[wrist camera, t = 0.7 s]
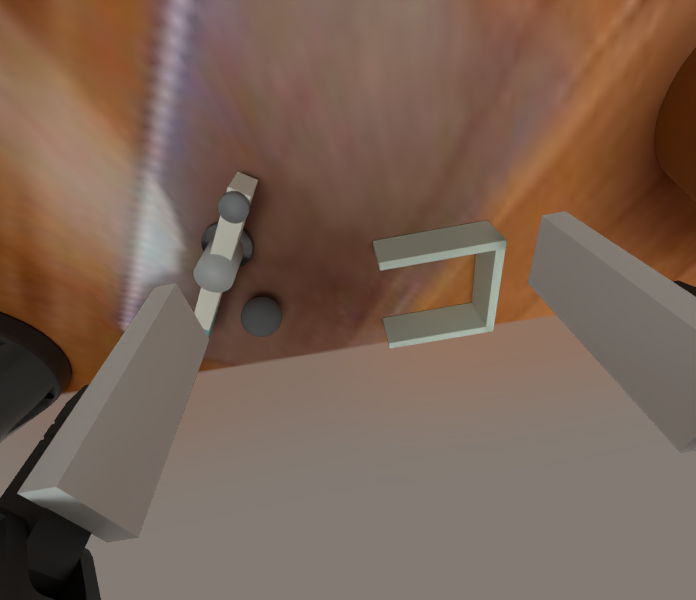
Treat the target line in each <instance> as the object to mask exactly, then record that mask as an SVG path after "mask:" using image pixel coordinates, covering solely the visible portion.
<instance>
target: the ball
mask: <svg viewBox="0 0 696 600" xmlns="http://www.w3.org/2000/svg"><path fill="white" fill-rule="evenodd" d="M281 321H282V312H281V309H280V307H279V306H278V304H277V303H276V302H275V301H273V300H272V299H270V298H267V297H257V298H254V299H252V300H250V301H248V302H247V303H246V304H245V306H244V307H243V309H242V312H241V322H242V325H243V327H244V328H245V330H246V331H247V332H249V333H250V334H252V335H254V336H258V337H264V336H268V335H271V334H272V333H274V332H275V331H276V330H277V329H278V328H279V326H280V324H281Z"/></svg>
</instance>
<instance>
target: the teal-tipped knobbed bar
mask: <svg viewBox="0 0 696 600" xmlns="http://www.w3.org/2000/svg"><path fill="white" fill-rule="evenodd" d="M257 182H258V180H257V179H254V178H252V177H250V176H247V175H245V174H243V173H240V172H237V174H236V175H235V177H234V178H233V180H232V181H231V183H230V185H229V186H228V189H227V192H226V193H225V194H224V195H223V196H222V198H221V200H220V201H219V203H218V211H219V214H220V219H219V222H218V226H217V230H216V234H215V236H213V237H212V238H211V240H210V242H209V243H208V245H207V247H206V249H205V251H204V252H203V254H202V256H201V258H200V260H199V262H198V263H197V265H196V267H195V269H194V273H193V274H194V279H195V281H196V282H197V284H198V285H199V286H200V287H201V290H200V294H199V298H198V301H197V305H196V309H195V313H194V314H195V316H196V317H197V319H198V321H199V322H200V324H201V326H202V328H203V329H204V331H205V333H206V334H207V336H208V338H209V335H210V332H211V330H212V327H213V324H214V321H215V317H216V314H217V311H218V308H219V303H220V300H221V297H222V293H223V292H224V291H227V290H228V289H230V288H231V286H232V285H233V282H234V279H235V277H236V274H237V271H238V268H239V265H240V263H241V260H242V257H243V254H244V248H243V245H242V243H241V242H240V241H239V239H240V236H241V233H242V230H243V227H244V223H245V220H246V218H247V216H248V213H249V211H250V204H251V201H252V198H253V195H254V192H255V188H256V185H257Z"/></svg>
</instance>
